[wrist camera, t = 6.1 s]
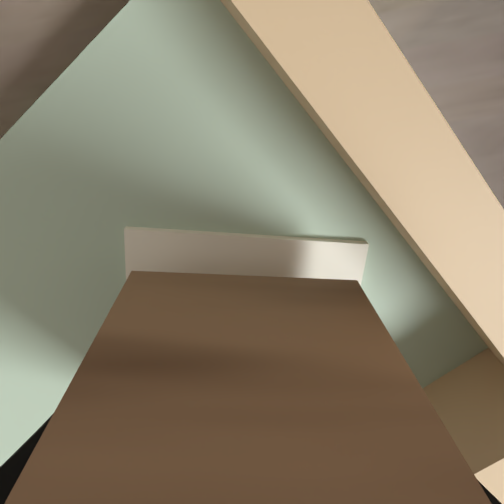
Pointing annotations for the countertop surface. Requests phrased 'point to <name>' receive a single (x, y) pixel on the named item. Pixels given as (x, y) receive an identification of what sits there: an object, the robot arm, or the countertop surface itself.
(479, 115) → the countertop surface
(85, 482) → the walnut block
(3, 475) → the robot arm
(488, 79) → the countertop surface
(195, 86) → the corner board
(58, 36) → the countertop surface
